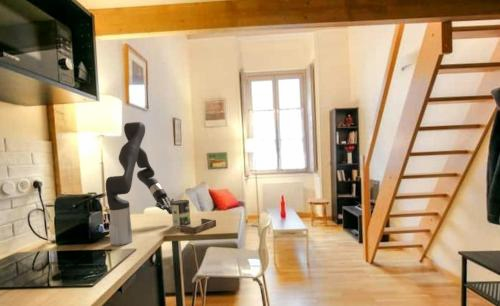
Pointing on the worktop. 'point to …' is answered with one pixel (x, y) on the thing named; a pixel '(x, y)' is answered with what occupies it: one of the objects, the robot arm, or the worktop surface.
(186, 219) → the coffee can
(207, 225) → the walnut bay
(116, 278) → the worktop surface
